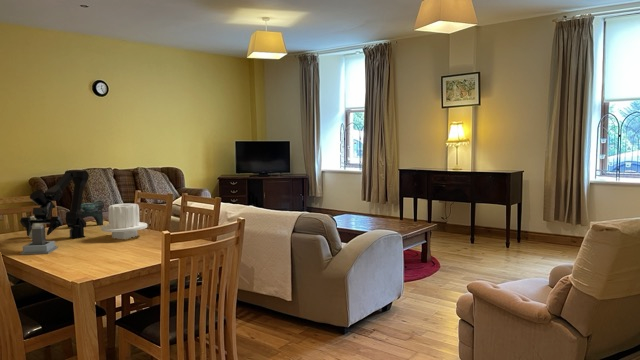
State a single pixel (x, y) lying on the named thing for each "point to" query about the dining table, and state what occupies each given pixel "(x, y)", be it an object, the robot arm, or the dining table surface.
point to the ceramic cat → (93, 210)
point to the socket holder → (39, 248)
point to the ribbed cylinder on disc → (123, 221)
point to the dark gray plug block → (38, 235)
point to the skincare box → (33, 226)
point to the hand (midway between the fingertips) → (37, 235)
